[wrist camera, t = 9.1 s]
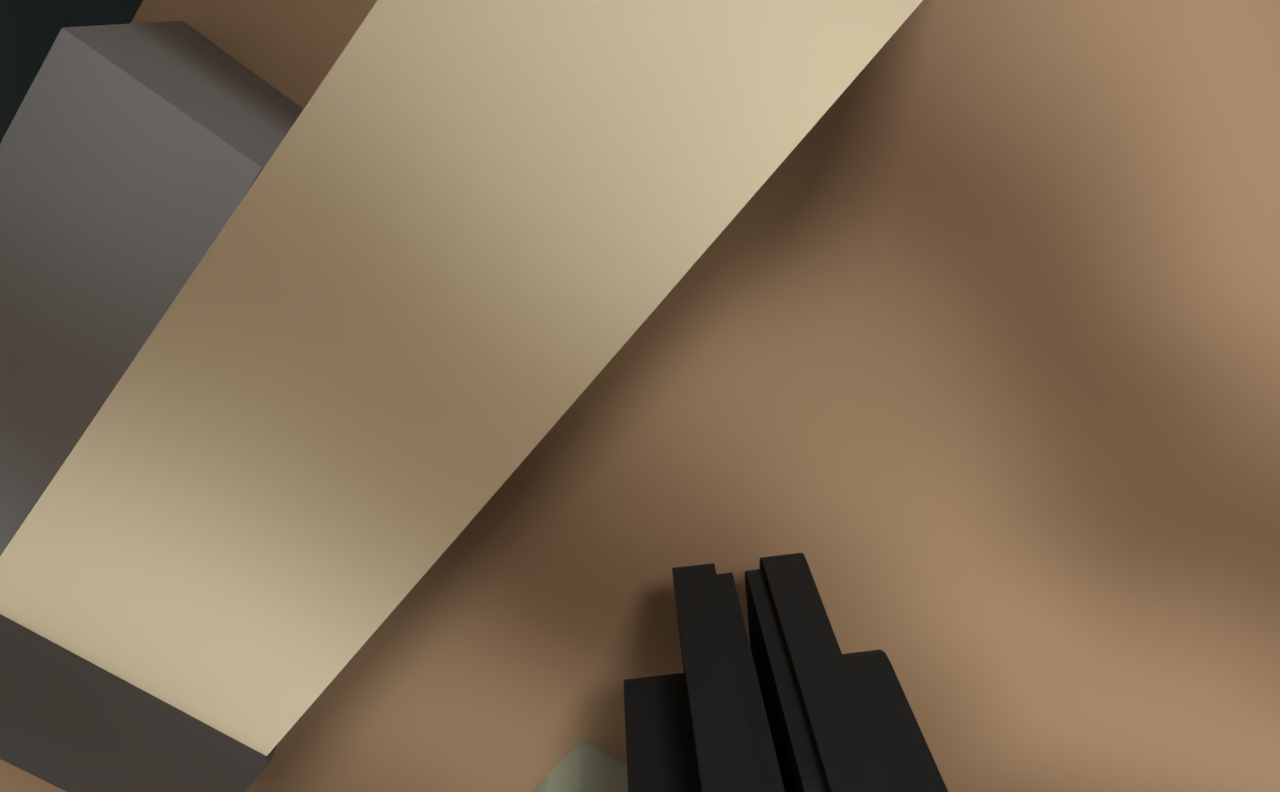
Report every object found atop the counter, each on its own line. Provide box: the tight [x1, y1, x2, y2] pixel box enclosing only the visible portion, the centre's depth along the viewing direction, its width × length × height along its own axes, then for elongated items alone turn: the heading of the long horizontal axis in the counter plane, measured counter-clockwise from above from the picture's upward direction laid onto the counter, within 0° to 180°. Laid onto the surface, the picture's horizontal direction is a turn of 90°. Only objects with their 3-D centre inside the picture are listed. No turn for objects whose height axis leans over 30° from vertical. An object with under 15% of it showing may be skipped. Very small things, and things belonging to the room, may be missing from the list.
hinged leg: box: [0, 0, 923, 792], centre depth 8 cm, size 13×3×4 cm, turn 140°
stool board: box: [0, 0, 1280, 792], centre depth 12 cm, size 24×20×6 cm
